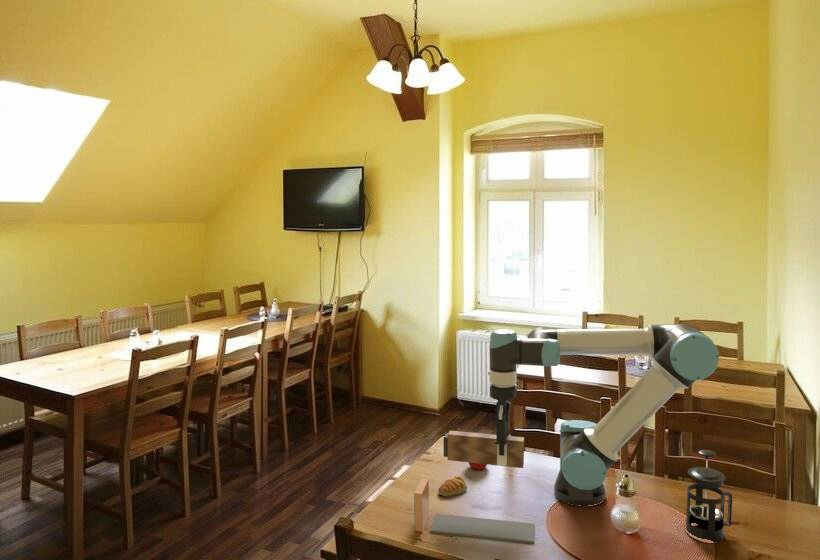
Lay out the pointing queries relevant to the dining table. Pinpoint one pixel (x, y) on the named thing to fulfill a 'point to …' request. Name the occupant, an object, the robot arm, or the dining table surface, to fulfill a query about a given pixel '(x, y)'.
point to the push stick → (482, 448)
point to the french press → (707, 502)
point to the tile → (421, 504)
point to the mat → (483, 528)
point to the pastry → (453, 486)
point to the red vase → (477, 466)
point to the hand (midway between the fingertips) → (502, 462)
